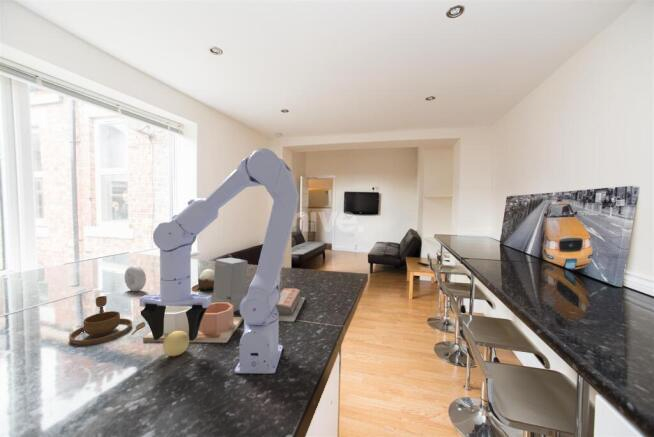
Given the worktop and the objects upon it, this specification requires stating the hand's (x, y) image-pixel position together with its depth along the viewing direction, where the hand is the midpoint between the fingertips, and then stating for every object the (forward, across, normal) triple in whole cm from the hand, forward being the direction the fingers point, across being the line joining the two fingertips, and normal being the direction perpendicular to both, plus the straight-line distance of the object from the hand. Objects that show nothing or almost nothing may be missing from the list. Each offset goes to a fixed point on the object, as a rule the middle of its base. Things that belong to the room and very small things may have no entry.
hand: (176, 338), depth 55 cm
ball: (+1, 0, 0) cm, 1 cm away
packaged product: (+4, -20, -26) cm, 33 cm away
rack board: (+4, +1, -11) cm, 12 cm away
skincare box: (+4, -2, -26) cm, 26 cm away
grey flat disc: (+4, +40, -41) cm, 57 cm away
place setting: (+5, +25, -13) cm, 29 cm away
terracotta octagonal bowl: (+4, -4, -11) cm, 12 cm away
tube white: (+4, +6, -11) cm, 13 cm away
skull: (+4, +14, -46) cm, 49 cm away
